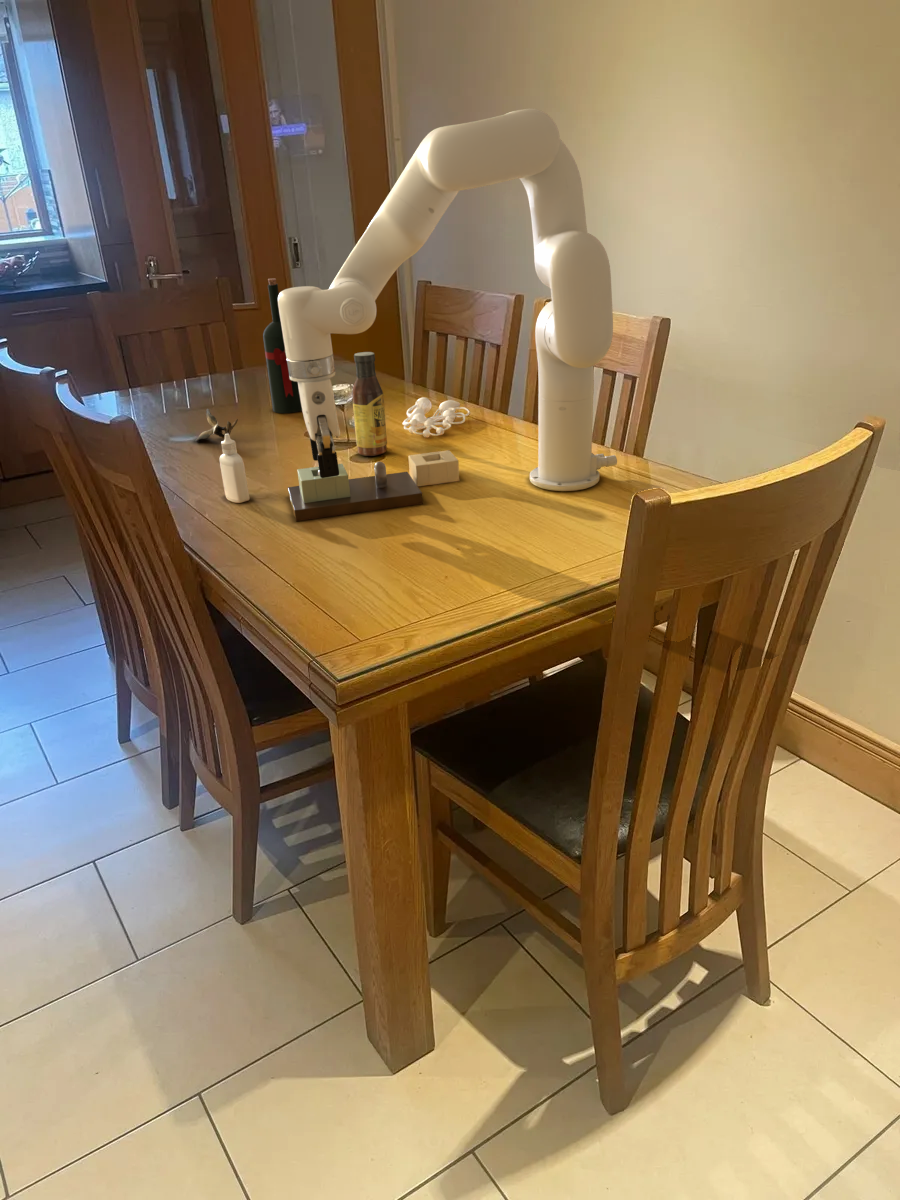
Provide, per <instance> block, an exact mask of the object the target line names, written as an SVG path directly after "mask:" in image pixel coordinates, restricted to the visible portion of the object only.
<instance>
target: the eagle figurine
mask: <svg viewBox="0 0 900 1200" xmlns="http://www.w3.org/2000/svg"><path fill="white" fill-rule="evenodd" d="M205 410H206V411H205V416H206V421H207V423H208V424H209V426H211V428H209V429H208V430H205V431H202V432H201V433H200V434H199V435H198V437H197V438H196V439H195V440H194V441H195V442H197V441H199V440H202V439H203V440H205V439H209V438H210V437H211V436H214V435H215V436H218V437H219V438H221V439H225V434H229V436H230V435H231V434H232V433H231V432H232V430H233V429H234V427H235V426H236V425H237V423H238V421H239V419H238V418H236V419H235V420H234V422H233V423H232V422H230V421H229V420H227V423H226V426H223V427H222V426H220V425H219V422H218V420H217V418H216V417H215V415H213V414H212V413H211V411H210V409H209V408H207V409H205ZM223 431H224V433H223Z"/></svg>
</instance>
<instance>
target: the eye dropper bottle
mask: <svg viewBox="0 0 900 1200" xmlns="http://www.w3.org/2000/svg"><path fill="white" fill-rule="evenodd" d="M224 434H225V438H224V439H223V440H222V441H221V442H220V445H221V450H222V454H220V456H219V459H218V460H219V461H218V462H219V468H220V472H221V478H222V485H223V490H224V496H225V498H226V499H227V500H228V501H229V502H230V503H231V502H232V503H235V504H240V503H245V502H248V501H250V492H249V491H250V490H249V486H248V485H249V484H248V480H247V474H246V468H245V463H244V459H243V457H242V456H241V455H240V454H239V453H238V450H237V443H236V440H235V439H232V438H231V436H230V435H229V434H226V433H224Z"/></svg>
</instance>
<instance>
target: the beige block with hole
mask: <svg viewBox="0 0 900 1200" xmlns="http://www.w3.org/2000/svg"><path fill="white" fill-rule="evenodd" d="M407 460H408V471H409V472H408V473H409V475H410V476H411V478H412V479H413V481H414V482H415V483H416V485H417V486H418V487H424V486H432V485H439V484H448V483H454V482H460V465H459V460H458V458H457V457H456V455H454V453H452V451H450V449H447V450H442V451H441V450H439V451H431V452H424V453H416V454H409V455H408V457H407Z"/></svg>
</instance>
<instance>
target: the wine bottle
mask: <svg viewBox="0 0 900 1200" xmlns="http://www.w3.org/2000/svg"><path fill="white" fill-rule="evenodd" d="M267 281H268V284H267V289H268V290H267V291H268V298H269V304H270V311H271V318H272V321H271V322H270V323H269V324H268V325H267V326H266V327H265V329H264V330H263V333H262V339H263V347H264V354H265V362H266V368H267V376H268V383H269V391H270V398H271V399H270V400H271V407H272V411H273V412H274V413H276V414H293V413H298V412H302V406H301V400H300V394H299V388H298V382H296V381H292V380H290V377H289V371H288V364H287V357H286V352H285V345H284V339H283V333H282V326H281V320H280V314H279V307H278V295H279V293H280V291H279V285H278V283H277V279H276V278H274V277H273V278H268V279H267Z"/></svg>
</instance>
